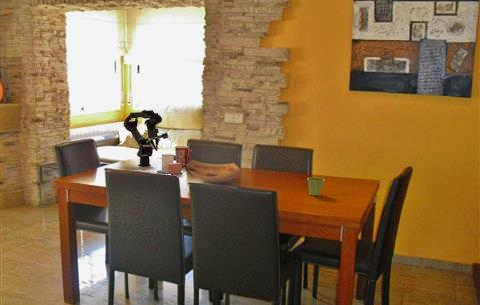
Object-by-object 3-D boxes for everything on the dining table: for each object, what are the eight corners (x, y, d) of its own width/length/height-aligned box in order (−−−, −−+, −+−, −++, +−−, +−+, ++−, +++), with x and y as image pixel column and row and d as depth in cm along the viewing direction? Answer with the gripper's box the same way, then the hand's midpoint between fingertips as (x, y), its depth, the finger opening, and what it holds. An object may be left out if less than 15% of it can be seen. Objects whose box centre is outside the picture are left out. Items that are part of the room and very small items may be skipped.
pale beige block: (161, 170, 308) (161, 154, 307) (169, 169, 312) (170, 153, 311) (165, 171, 305) (165, 155, 304) (173, 170, 309) (173, 154, 308)
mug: (172, 166, 329) (172, 146, 327) (179, 164, 337) (179, 145, 335) (188, 168, 324) (188, 148, 322) (195, 166, 332) (195, 147, 330)
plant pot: (311, 192, 270) (312, 176, 268) (327, 195, 264) (328, 179, 263) (302, 194, 263) (303, 178, 261) (318, 197, 257) (319, 181, 255)
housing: (157, 172, 309) (157, 161, 308) (170, 170, 315) (170, 159, 314) (169, 175, 299) (169, 164, 298) (182, 174, 305) (182, 163, 304)
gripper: (135, 128, 311) (140, 151, 308) (164, 121, 313) (169, 144, 310) (138, 132, 322) (143, 155, 319) (166, 126, 324) (171, 148, 321)
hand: (156, 150), depth 317 cm, fingers closed
